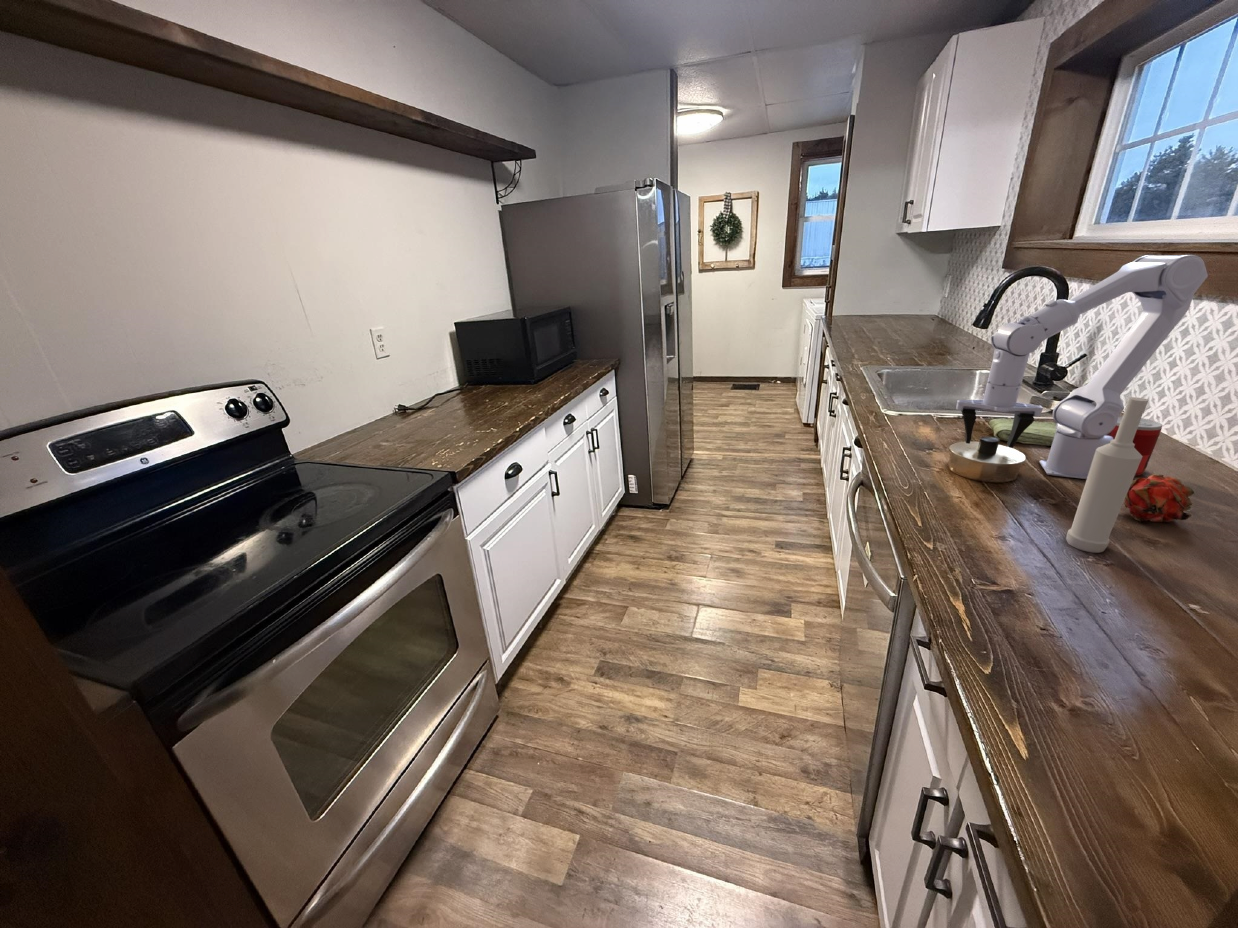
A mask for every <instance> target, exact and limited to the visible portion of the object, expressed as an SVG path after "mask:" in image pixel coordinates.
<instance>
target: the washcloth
mask: <svg viewBox="0 0 1238 928" xmlns="http://www.w3.org/2000/svg"><path fill="white" fill-rule="evenodd" d="M1013 421H1014V418H1010V419H1009V418H992V419H991V420H989V426H990V428H991V431H992V432H993V437H994V438H997V439H999V441H1005V442H1008V439H1009V436H1010V433H1011V430H1012V426H1013ZM1056 424H1057V422H1049V421H1035V420H1034V421H1033V423H1032V424H1031V425H1030V426H1029V427H1028V428H1026V429H1025V431H1024V432H1023V433H1022V434H1021V435H1020V437H1019V438H1018V439H1017V441H1016V443H1021V444H1028V445H1029V444H1030V445H1039V446H1048V447H1049V446H1052V443H1053V440H1054V436H1055V433H1056V430H1057V428H1056Z"/></svg>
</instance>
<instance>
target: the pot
mask: <svg viewBox="0 0 1238 928" xmlns="http://www.w3.org/2000/svg"><path fill="white" fill-rule="evenodd" d="M1021 467H1022V464H1020V465H1016V466H991V465H984V464H978V463H974V462H970V461H966V460H963V459H961V458H958V457H956V456H955V455H953V454H952V453H951V452H950V455H949V459H948V469H949V471H951V472H952V473H954V474H955V475H958V476H961V477H963V478H966V479H970V480H973V481H978V482H985V483H995V484H997V483H998V484H1000V483H1001V484H1002V483H1003V484H1004V483H1009V482H1013V481H1015V480H1016V479H1017V478H1018V476H1019V473H1020V470H1021Z"/></svg>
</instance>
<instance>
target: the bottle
mask: <svg viewBox="0 0 1238 928" xmlns="http://www.w3.org/2000/svg"><path fill="white" fill-rule="evenodd" d="M1148 403H1149V399H1147V398H1143V397H1137V396H1135V397H1132V396H1131V397H1128V400H1127V402H1126V405H1125V407H1124V412H1123V414H1122V417H1123V418H1122V420H1121V423H1120V426H1119V429H1118V431H1117V434H1116V437H1115V439H1114V440H1111V441H1110V443H1109V444H1106V445H1104V446H1101V447H1099V448H1097V449H1096V452H1095V455H1094V458H1093V461H1092V464H1091V467H1090V471H1089V474H1088V477H1087V479H1085V483H1084V486H1083V489H1082V493H1081V496H1080V499H1079V503H1078V505H1077V509H1076V512H1075V515H1074V519H1073V522H1072V525H1071V527H1070V528H1069V529H1068V531H1067V533H1066V536H1065V537H1066V538H1065V539H1066V540H1065V541H1066V543H1067V544H1068V545H1069V546H1071V547H1073V548H1075V549H1077V550H1080V551H1084V552H1088V553H1094V554H1095V553H1098V554H1099V553H1104V551H1105V550H1106V549H1107V547H1108V546H1109V544H1110V542H1111V540H1110V535H1111V532H1112V530H1113V529H1114V527H1115V523H1116V521H1117V519H1118V517H1119V514H1120V511H1121V509H1122V507H1123V504H1124V503H1125V497H1126V495H1127V492H1128V490H1129V488H1130V485H1131V483H1132V481H1133V480H1134V478H1135V477H1136V476H1135V473H1136V471H1137V469H1138V466H1139V464H1140V461H1141V459H1142V457H1143V456H1142V455H1141V454H1140V453H1139V452H1138V451H1137V450H1136V449H1135V448H1134V445H1135V444H1134V443H1133V439H1134V436H1135V433H1136V431H1137V428H1138V425H1139V423H1140V420H1141V418H1143V415H1144V413H1145V411H1146V409H1147V405H1148Z"/></svg>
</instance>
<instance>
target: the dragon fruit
mask: <svg viewBox="0 0 1238 928" xmlns="http://www.w3.org/2000/svg"><path fill="white" fill-rule="evenodd" d="M1194 494H1195V491H1194V490H1193V489H1192V487H1190V486H1187V485H1185V484H1183V482H1182V481H1181V480H1180V479H1179V478H1177V477H1174V476H1173V477H1172V476H1164V475H1163V474H1158V473H1155V474H1151V475H1149V476H1148V477H1147V478H1144V477H1138V478H1135V479H1133V481H1132V483H1131V485H1130V488H1129V490H1128V492H1127V495H1126V497H1125V500H1124V507H1125V508H1126V509H1129V513H1130V514H1131V517H1132V518H1133V519H1134V520H1135V521H1138V522H1140V523H1142V521H1143V522H1147V521H1150V522H1156V523H1162V522H1163V523H1169V522H1172V521H1175V520H1178V521H1186V520H1188V519H1189V518H1192V514H1191V513H1188V512H1186V511H1189V510H1190V509H1191V508H1192V507H1191V506H1193V502H1192V500H1191V498H1190V497H1192V495H1194Z"/></svg>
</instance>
